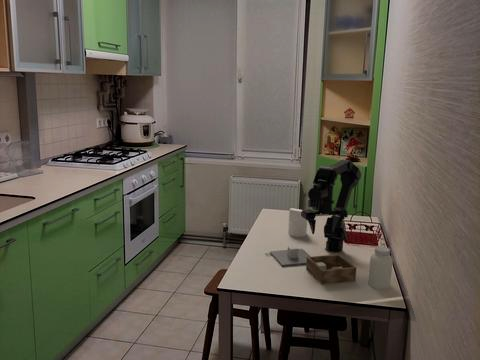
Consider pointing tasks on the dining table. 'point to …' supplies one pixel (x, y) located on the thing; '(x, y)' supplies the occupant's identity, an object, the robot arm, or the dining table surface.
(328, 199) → the robot arm
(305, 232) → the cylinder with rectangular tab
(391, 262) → the pill bottle
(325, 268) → the cream cube
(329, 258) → the storage box
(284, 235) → the dining table surface
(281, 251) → the lid
